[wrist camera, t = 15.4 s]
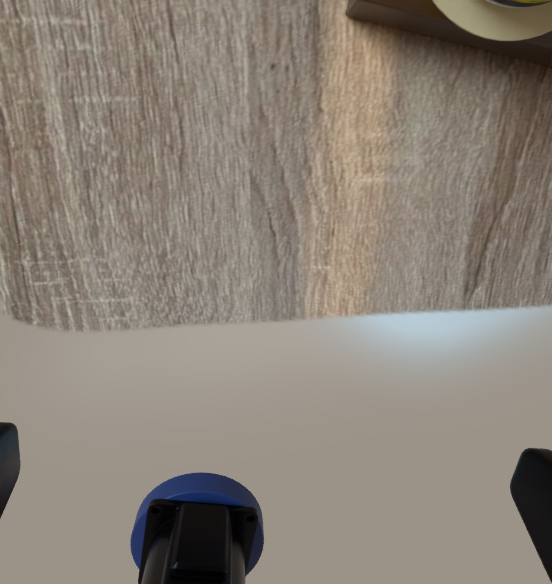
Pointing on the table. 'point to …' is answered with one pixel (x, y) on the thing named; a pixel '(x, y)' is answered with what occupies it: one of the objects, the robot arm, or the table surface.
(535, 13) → the walnut board
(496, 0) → the pill bottle
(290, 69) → the table surface
